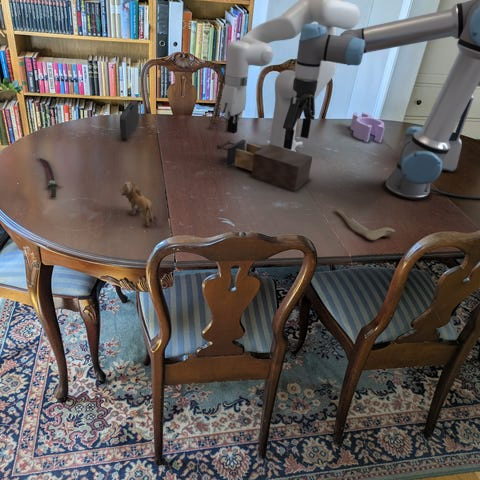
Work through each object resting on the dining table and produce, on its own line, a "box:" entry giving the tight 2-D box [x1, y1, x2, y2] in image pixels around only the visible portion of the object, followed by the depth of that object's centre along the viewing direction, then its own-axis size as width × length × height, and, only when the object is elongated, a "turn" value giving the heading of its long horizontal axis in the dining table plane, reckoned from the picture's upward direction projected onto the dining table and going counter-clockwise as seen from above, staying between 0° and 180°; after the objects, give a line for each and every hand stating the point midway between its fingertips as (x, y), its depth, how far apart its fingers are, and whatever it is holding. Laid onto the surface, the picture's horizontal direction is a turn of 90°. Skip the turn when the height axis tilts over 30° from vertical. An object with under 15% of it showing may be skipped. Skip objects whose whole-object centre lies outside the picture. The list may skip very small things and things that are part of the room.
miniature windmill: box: [208, 59, 228, 132], centre depth 198 cm, size 9×8×30 cm
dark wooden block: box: [250, 143, 313, 192], centre depth 165 cm, size 17×12×9 cm
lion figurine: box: [119, 181, 159, 227], centre depth 134 cm, size 15×5×9 cm, turn 50°
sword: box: [40, 158, 59, 198], centre depth 151 cm, size 31×3×1 cm, turn 26°
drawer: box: [216, 139, 264, 172], centre depth 170 cm, size 22×11×7 cm, turn 59°
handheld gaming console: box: [119, 99, 140, 141], centre depth 189 cm, size 23×3×10 cm, turn 178°
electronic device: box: [442, 95, 474, 173], centre depth 182 cm, size 12×8×30 cm, turn 71°
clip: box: [349, 112, 386, 143], centre depth 214 cm, size 20×12×7 cm, turn 11°
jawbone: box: [334, 207, 396, 241], centre depth 142 cm, size 9×20×2 cm, turn 50°
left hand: (231, 132), depth 169 cm, fingers closed
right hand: (296, 142), depth 158 cm, fingers open, 13 cm apart
